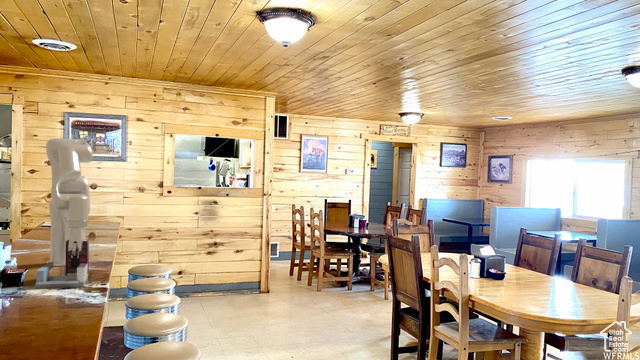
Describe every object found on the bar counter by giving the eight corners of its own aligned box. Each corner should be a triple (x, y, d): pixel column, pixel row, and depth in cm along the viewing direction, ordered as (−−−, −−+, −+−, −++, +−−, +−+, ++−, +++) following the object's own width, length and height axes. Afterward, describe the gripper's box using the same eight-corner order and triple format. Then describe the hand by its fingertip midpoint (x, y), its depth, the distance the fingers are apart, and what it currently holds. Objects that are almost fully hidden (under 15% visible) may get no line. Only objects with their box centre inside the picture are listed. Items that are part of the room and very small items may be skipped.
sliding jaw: (47, 274, 201) (47, 262, 201) (53, 273, 202) (54, 262, 201) (36, 283, 185) (36, 270, 185) (43, 283, 186) (43, 270, 186)
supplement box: (88, 275, 208) (89, 239, 208) (87, 277, 204) (88, 240, 203) (66, 275, 206) (67, 239, 205) (64, 278, 201) (65, 241, 200)
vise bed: (41, 282, 194) (42, 263, 193) (87, 280, 199) (88, 262, 198) (34, 288, 184) (35, 269, 184) (83, 286, 189) (83, 268, 189)
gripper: (72, 221, 211) (71, 261, 212) (63, 226, 195) (62, 270, 195) (91, 221, 213) (90, 261, 214) (83, 226, 197) (82, 269, 197)
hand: (77, 265), depth 204 cm, fingers open, 7 cm apart
